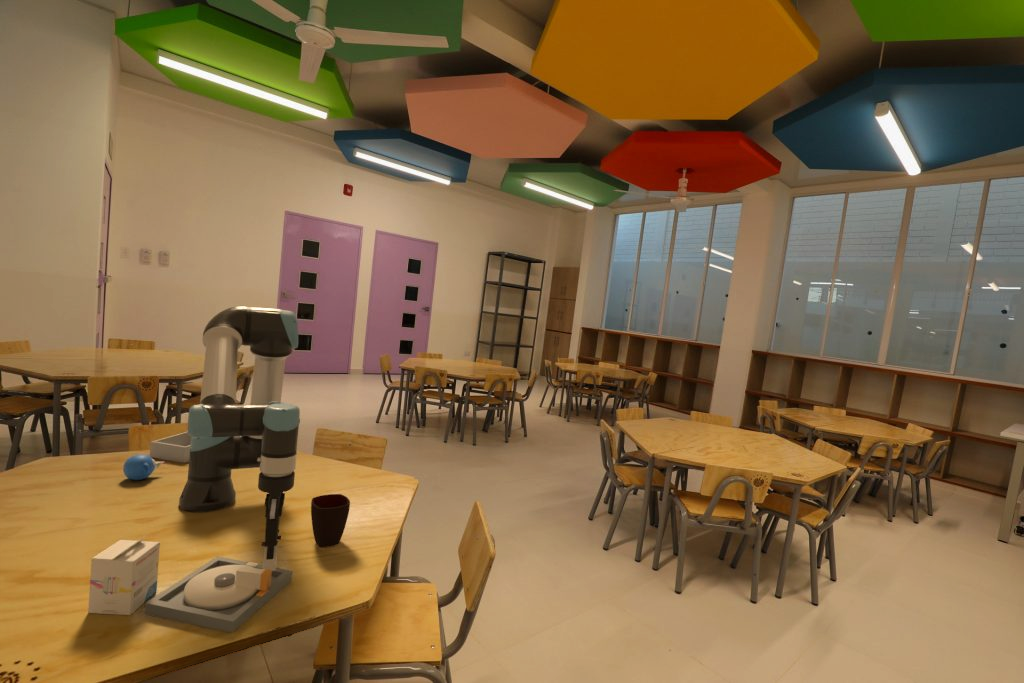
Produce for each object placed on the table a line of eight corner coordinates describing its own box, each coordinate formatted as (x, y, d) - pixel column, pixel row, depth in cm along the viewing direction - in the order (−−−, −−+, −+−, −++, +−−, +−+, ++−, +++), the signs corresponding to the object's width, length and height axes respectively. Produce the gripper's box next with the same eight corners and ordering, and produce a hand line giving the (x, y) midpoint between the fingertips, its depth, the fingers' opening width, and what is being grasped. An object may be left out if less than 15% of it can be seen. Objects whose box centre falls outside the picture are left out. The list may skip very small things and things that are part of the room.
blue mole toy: (172, 478, 168) (173, 454, 167) (130, 487, 158) (132, 461, 157) (156, 469, 174) (158, 446, 174) (116, 477, 164) (117, 452, 164)
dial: (166, 605, 101) (168, 580, 100) (213, 567, 116) (215, 546, 115) (248, 615, 100) (250, 591, 100) (284, 576, 115) (286, 555, 115)
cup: (313, 554, 129) (317, 510, 129) (300, 532, 140) (304, 492, 140) (350, 546, 135) (354, 505, 135) (335, 526, 146) (338, 487, 146)
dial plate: (144, 614, 99) (145, 602, 99) (216, 565, 119) (217, 555, 119) (232, 633, 97) (233, 620, 97) (291, 580, 117) (292, 569, 116)
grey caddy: (149, 457, 185) (150, 441, 185) (196, 442, 208) (197, 428, 208) (184, 462, 183) (185, 447, 183) (228, 447, 206) (229, 433, 206)
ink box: (117, 589, 106) (121, 530, 106) (157, 591, 107) (161, 533, 106) (86, 613, 98) (90, 550, 97) (130, 616, 98) (134, 552, 98)
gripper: (262, 462, 116) (254, 556, 118) (255, 482, 104) (247, 587, 106) (296, 461, 119) (288, 554, 121) (293, 481, 107) (284, 583, 109)
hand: (269, 569), depth 113 cm, fingers closed
